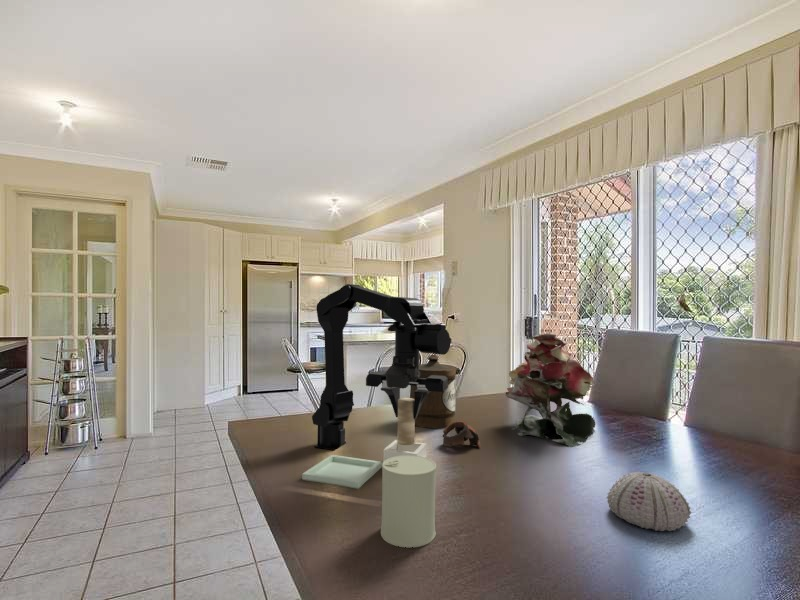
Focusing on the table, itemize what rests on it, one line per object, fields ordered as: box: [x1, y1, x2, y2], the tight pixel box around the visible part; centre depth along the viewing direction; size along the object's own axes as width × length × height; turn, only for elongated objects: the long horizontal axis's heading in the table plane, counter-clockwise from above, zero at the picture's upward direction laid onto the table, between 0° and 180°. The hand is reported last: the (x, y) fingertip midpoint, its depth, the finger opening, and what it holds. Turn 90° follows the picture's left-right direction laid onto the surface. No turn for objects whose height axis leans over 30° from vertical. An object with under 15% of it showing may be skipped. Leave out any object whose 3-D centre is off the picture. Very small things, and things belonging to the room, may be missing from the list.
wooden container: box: [409, 354, 457, 429], centre depth 146 cm, size 15×15×22 cm
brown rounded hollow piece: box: [442, 420, 481, 449], centre depth 121 cm, size 12×10×8 cm
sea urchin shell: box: [606, 471, 692, 532], centre depth 82 cm, size 13×14×8 cm
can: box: [380, 455, 437, 549], centre depth 75 cm, size 9×9×12 cm
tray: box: [301, 454, 383, 490], centre depth 99 cm, size 13×13×2 cm
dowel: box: [396, 397, 416, 445], centre depth 105 cm, size 4×4×10 cm
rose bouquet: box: [505, 333, 596, 448], centre depth 140 cm, size 26×29×30 cm
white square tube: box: [382, 439, 428, 463], centre depth 105 cm, size 8×8×5 cm
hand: (406, 417), depth 105 cm, fingers closed on dowel, 4 cm apart
